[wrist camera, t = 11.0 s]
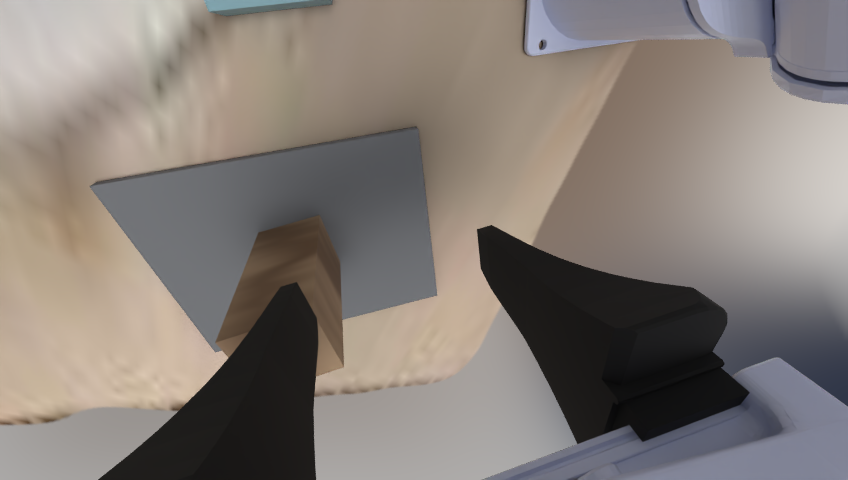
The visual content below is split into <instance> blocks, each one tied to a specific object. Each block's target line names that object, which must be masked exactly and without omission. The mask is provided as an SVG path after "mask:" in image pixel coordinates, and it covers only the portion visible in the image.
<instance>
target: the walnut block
mask: <svg viewBox="0 0 848 480" xmlns="http://www.w3.org/2000/svg"><path fill="white" fill-rule="evenodd" d="M295 282H297V283H298V285H299V287H300V289H301V290H302V292H303V294H304V296H305V297H306V299H307V301H308V303H309V305H310V306H311V308H312V310H313V312H314V314H315V315H316V317H317V323H318V341H319V343H318V357H317V369H316V376H319V375H322V374H325V373H328V372H330V371H333V370H336V369H339V368H342V367H344V356H343V327H342V299H341V270H340V260H339V258H338V256H337V253H336V251H335V249H334V247H333V244H332V242H331V240H330V238H329V235H328V233H327V231H326V228H325V226H324V224H323V222H322V219H321V217H320V215H318V216H314V217H311V218H307V219H304V220H300V221H297V222H293V223H290V224H286V225H283V226H279V227H276V228H272V229H269V230H265V231H262V232H258V235H257V237H256V240H255V242H254V245H253V247H252V250H251V253H250V255H249V258H248V260H247V263H246V265H245V268H244V270H243V273H242V275H241V278H240V281H239V283H238V286H237V288H236V291H235V293H234V296H233V298H232V301H231V304H230V306H229V309H228V311H227V314H226V316H225V319H224V321H223V324H222V326H221V329H220V332H219V334H218V337H217V339H216V342H215V343H216V344H217V345H218V346H219V347H220V349H221V350H222V351H223V352H224V353H225V354H226V355H227V356H228V357H230V356H231V355H232V353H233V352H234V351H235V349H236V348H237V347H238V346H239V344H240V343H241V342H242V340H243V339H244V338H245V336H246V335H247V334H248V332H249V331H250V330H251V328H252V327H253V326H254V324H255V323H256V321H257V320H258V318H259V317H260V316H261V314H262V313H263V311H264V310H265V308H266V307H267V305H268V304H269V302H270V301H271V299H272V298H273V297H274V295H275V294H276V292H277V291H278V290H279V288H280V287H281V286H285V285H288V284H291V283H295Z"/></svg>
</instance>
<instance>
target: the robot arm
mask: <svg viewBox="0 0 848 480" xmlns="http://www.w3.org/2000/svg"><path fill="white" fill-rule="evenodd" d="M660 39H661V40H662V39H663V40H664V39H724V40H726V41H727V42H729V43H730V45H731V46H732V49H733V53H734V56H735V57H764V58H765V57H767V58H770V72H771V76H772V79H773V80H774V82H775V83H776V84H777V85H778V86H779V87H780V88H781V89H783V90H784V91H786V92H788V93H789V94H791V95H794V96H797V97H800V98H803V99H808V100H812V101H818V102H824V103H837V104H848V0H527V11H526V27H525V44H524V49H525V52H526V54H527V55H530V56H536V55H542V54H549V53H556V52H563V51H569V50H576V49H583V48H590V47H596V46H603V45H610V44H617V43H623V42H630V41H637V40H660ZM541 40H542V41H543V47H542V48H541V49H539V43H540V41H541ZM477 234H478V244H479V254H480V264H481V270H482V272H483V274H484V276H485V278H486V280H487V282H488V284H489V286H490V288H491V289H492V291H493V292H494V294H495V295H496V297H497V298H498V300H499V301H500V303H501V304H502V306H503V307H504V309H505V310H506V311H507V313H508V314H509V316H510V317H511V319H512V320H513V322H514V323H515V325H516V326H517V327H518V329H519V330H520V332H521V334H522V335H523V337H524V338H525V340H526V342H527V344H528V346H529V347H530V349H531V351H532V353H533V355H534V357H535V358H536V360H537V362H538V364H539V366H540V368H541V370H542V372H543V374H544V376H545V378H546V380H547V381H548V383H549V385H550V387H551V389H552V391H553V393H554V395H555V397H556V400H557V402H558V404H559V406H560V408H561V410H562V412H563V414H564V416H565V418H566V420H567V422H568V424H569V427H570V429H571V431H572V433H573V435H574V437H575V440H576V441H577V445H574V446H572V447H568V448H566V449H563V450H560V451H558V452H555V453H552V454H550V455H547V456H545V457H542V458H539V459H537V460H534V461H531V462H528V463H526V464H523V465H520V466H518V467H515V468H512V469H509V470H507V471H504V472H501V473H499V474H496V475H494V476H491V477H488V478H485V479H483V480H848V406H846V405H845V404H843V403H842V402H841V401H839V400H838V399H836V398H835V397H833V396H832V395H831V394H829V393H828V392H827V391H825V390H824V389H822V388H821V387H819V386H818V385H817V384H815V383H814V382H813V381H811V380H810V379H808V378H807V377H806V376H804V375H803V374H801V373H800V372H798V371H797V370H796V369H794V368H793V367H792V366H790V365H789V364H787V363H786V362H785V361H783V360H782V359H780V358H772V359H769V360H767V361H764V362H761V363H759V364H756V365H753V366H750V367H748V368H745V369H743V370H741V371H739V372H737V373H736V374H735V375H733V376H732V377H731V376H730V375H729V374H728V373H726V372H725V371H724V370H723V369H722V368H721V367H723V365H724V362H723V360H722V359H720V358H719V357H718V356H717V355H716V354H715V353H713V352H712V351H713V349H714V347H715V346H716V344H717V342H718V340H719V339H720V337H721V335H722V334H723V332H724V330H725V327H726V325H727V313H726V312H725V310H724V309H723V308H722V307H720V306H719V305H718V304H716V303H715V302H713V301H712V300H710V299H709V298H707V297H706V296H705V295H703V294H702V293H700V292H699V291H697V290H696V289H694V288H691V287H684V286H676V285H669V284H661V283H654V282H648V281H642V280H637V279H632V278H627V277H622V276H618V275H613V274H609V273H606V272H602V271H598V270H594V269H590V268H587V267H584V266H581V265H578V264H575V263H572V262H569V261H566V260H564V259H561V258H558V257H556V256H553V255H551V254H549V253H546V252H544V251H541V250H539V249H537V248H535V247H533V246H531V245H529V244H527V243H525V242H523V241H521V240H519V239H517V238H515V237H513V236H511V235H509V234H507V233H506V232H504V231H502V230H500V229H498V228H496V227H494V226H492V225H490V226H487V227H484V228H480V229H477ZM318 343H319V341H318V323H317V317H316V315H315V314H314V312H313V310H312V308H311V306H310V305H309V303H308V301H307V299H306V297H305V296H304V294H303V292H302V290H301V289H300V287H299V285H298V283H297V282H295V283H291V284H288V285H285V286H281V287H280V288H279V290H278V291H277V292H276V294H275V295H274V297H273V298H272V299H271V301H270V302H269V304H268V305H267V307H266V308H265V310H264V311H263V313H262V314H261V316H260V317H259V318H258V320H257V321H256V323H255V324H254V326H253V327H252V328H251V330H250V331H249V332H248V334H247V335H246V336H245V338H244V339H243V340H242V342H241V343H240V344H239V346H238V347H237V348H236V349H235V351H234V352H233V353H232V355H231V356H230V357H229V358H228V359H227V361H226V362H225V363H224V364H223V365H222V367H221V368H220V369H219V370H218V371H217V372H216V373H215V374H214V376H213V377H212V378H211V379H210V380H209V381H208V382H207V383H206V384H205V385H204V386H203V387H202V388H201V389H200V390H199V391H198V392H197V393H196V394H195V395H194V396H193V397H192V398H191V399H190V400H189V401H188V402H187V403H186V404H185V405H184V406H183V407H182V408H181V409H180V410H179V411H178V412H177V413H176V414H175V415H174V416H173V417H172V418H171V419H170V420H169V421H168V422H167V423H165V424H164V425H163V426H162V427H161V428H160V429H159V430H158V431H157V432H155V433H154V434H153V435H152V436H151V437H150V438H149V439H147V440H146V441H145V442H144V443H143V444H142V445H141V446H139V447H138V448H137V449H136V450H134V452H132V453H131V454H130V455H129V456H127V457H126V458H125V459H124V460H123V461H121V462H120V463H119V464H117V465H116V466H115V467H114V468H112V469H111V470H110V471H108V472H107V473H106V474H105V475H103V476H102V477H101V478H100V479H98V480H316V473H315V472H316V471H315V451H314V416H313V407H314V392H315V380H316V369H317V357H318Z"/></svg>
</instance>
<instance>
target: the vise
mask: <svg viewBox="0 0 848 480" xmlns="http://www.w3.org/2000/svg"><path fill="white" fill-rule="evenodd" d="M204 1H205V3H206V6H207V8H208V11H209V12H212V13H216V14H220V15H224V16H231V15H240V14H249V13H258V12H267V11H276V10H285V9H294V8H303V7H312V6H321V5H330V4H332V0H204Z"/></svg>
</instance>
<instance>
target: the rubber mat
mask: <svg viewBox="0 0 848 480" xmlns="http://www.w3.org/2000/svg"><path fill="white" fill-rule="evenodd" d="M90 188H91V189H92V190H93V192H94V193H95V194H96V196H97V197H98V198H99V200H100V201H101V202H102V204H103V205H104V206H105V207H106V209H107V210H108V211H109V213H110V214H111V215H112V217H113V218H114V219H115V221H116V222H117V223H118V225H119V226H120V227H121V229H122V230H123V231H124V233H125V234H126V235H127V236H128V238H129V239H130V240H131V242H132V243H133V244H134V246H135V247H136V248H137V250H138V251H139V252H140V254H141V255H142V256H143V258H144V259H145V260H146V262H147V263H148V264H149V265H150V267H151V268H152V269H153V271H154V272H155V273H156V275H157V276H158V277H159V279H160V280H161V281H162V283H163V284H164V285H165V287H166V288H167V289H168V291H169V292H170V293H171V294H172V296H173V297H174V298H175V300H176V301H177V302H178V304H179V305H180V306H181V308H182V309H183V310H184V312H185V313H186V314H187V316H188V317H189V318H190V320H191V321H192V322H193V323H194V325H195V326H196V327H197V329H198V330H199V331H200V333H201V334H202V335H203V337H204V338H205V339H206V341H207V342H208V343H209V345H210V346H211V347H212V349H213V350H214V351H215V352H219V351H222V350H221V349H220V347H219V346H218V345H217V344H216V343H215V342H216V339H217V337H218V334H219V332H220V329H221V326H222V324H223V321H224V319H225V316H226V314H227V311H228V309H229V306H230V304H231V301H232V298H233V296H234V293H235V291H236V288H237V286H238V283H239V281H240V278H241V275H242V273H243V270H244V268H245V265H246V263H247V260H248V258H249V255H250V253H251V250H252V247H253V245H254V242H255V240H256V237H257V235H258V232H262V231H265V230H269V229H272V228H276V227H279V226H283V225H286V224H290V223H293V222H297V221H300V220H304V219H307V218H311V217H314V216H318V215H320V217H321V219H322V222H323V224H324V226H325V228H326V231H327V233H328V235H329V238H330V240H331V242H332V244H333V247H334V249H335V251H336V253H337V256H338V258H339V260H340V270H341V299H342V320H343V319H347V318H351V317H355V316H359V315H363V314H367V313H370V312H374V311H378V310H382V309H386V308H390V307H394V306H398V305H402V304H405V303H409V302H413V301H417V300H421V299H425V298H429V297H433V296H437V289H436V280H435V271H434V263H433V254H432V245H431V236H430V228H429V219H428V210H427V201H426V193H425V184H424V175H423V166H422V158H421V149H420V140H419V131H418V128H417V127H411V128H406V129H400V130H394V131H388V132H383V133H377V134H371V135H365V136H360V137H354V138H348V139H342V140H337V141H331V142H325V143H319V144H314V145H308V146H302V147H296V148H291V149H285V150H279V151H273V152H268V153H262V154H256V155H250V156H245V157H239V158H233V159H227V160H222V161H216V162H210V163H204V164H199V165H193V166H187V167H181V168H176V169H170V170H164V171H158V172H153V173H147V174H141V175H135V176H130V177H124V178H118V179H112V180H107V181H101V182H96V183H94V184H93V185H91V186H90Z"/></svg>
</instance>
